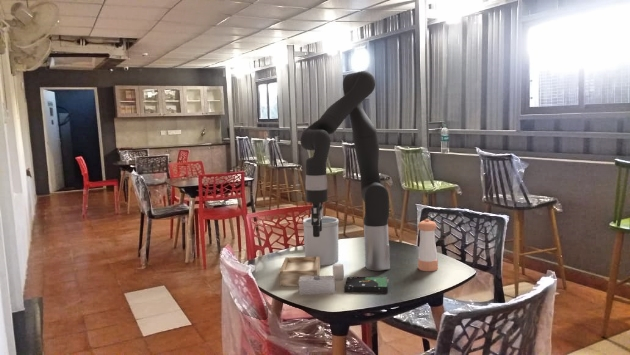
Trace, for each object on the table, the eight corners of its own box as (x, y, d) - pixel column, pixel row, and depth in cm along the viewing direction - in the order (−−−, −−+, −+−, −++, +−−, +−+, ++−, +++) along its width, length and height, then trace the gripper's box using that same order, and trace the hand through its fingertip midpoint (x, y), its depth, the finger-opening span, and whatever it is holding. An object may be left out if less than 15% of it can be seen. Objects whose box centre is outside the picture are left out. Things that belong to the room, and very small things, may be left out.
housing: (335, 289, 166) (334, 273, 165) (335, 294, 162) (334, 277, 161) (300, 290, 167) (299, 274, 166) (299, 295, 162) (298, 278, 162)
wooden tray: (320, 270, 188) (319, 256, 187) (317, 285, 170) (317, 270, 170) (286, 271, 189) (285, 257, 188) (280, 286, 171) (279, 271, 171)
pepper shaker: (441, 267, 183) (440, 218, 181) (431, 272, 178) (430, 221, 176) (424, 264, 188) (423, 216, 186) (414, 269, 183) (413, 219, 181)
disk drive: (344, 294, 162) (388, 294, 160) (343, 286, 162) (388, 286, 159) (347, 283, 172) (388, 283, 170) (346, 276, 172) (388, 276, 170)
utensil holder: (332, 254, 209) (331, 214, 207) (345, 263, 195) (343, 220, 193) (300, 258, 205) (298, 218, 203) (311, 268, 191) (309, 225, 189)
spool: (344, 276, 178) (343, 263, 178) (344, 280, 174) (343, 267, 174) (333, 277, 179) (332, 264, 178) (333, 280, 175) (332, 267, 174)
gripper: (325, 190, 158) (326, 238, 160) (328, 185, 172) (329, 229, 174) (303, 190, 159) (304, 238, 161) (308, 185, 173) (309, 229, 175)
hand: (317, 233), depth 167 cm, fingers open, 8 cm apart
